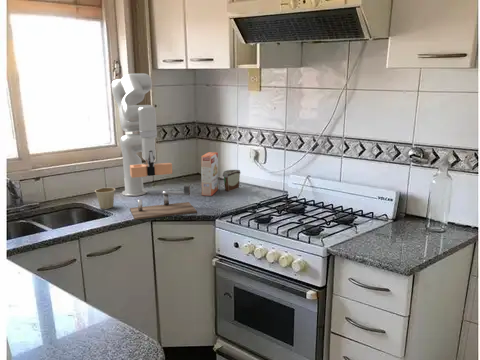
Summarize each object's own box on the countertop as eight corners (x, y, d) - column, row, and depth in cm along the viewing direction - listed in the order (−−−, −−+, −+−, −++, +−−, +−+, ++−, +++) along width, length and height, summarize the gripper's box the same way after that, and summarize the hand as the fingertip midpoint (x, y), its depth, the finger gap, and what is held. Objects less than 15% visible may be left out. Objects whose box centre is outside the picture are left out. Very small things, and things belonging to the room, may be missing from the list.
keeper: (161, 195, 222) (161, 186, 221) (163, 193, 225) (163, 184, 224) (189, 195, 221) (188, 186, 220) (190, 193, 224) (190, 185, 223)
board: (130, 210, 220) (129, 208, 220) (188, 203, 229) (188, 201, 229) (134, 219, 205) (134, 217, 205) (196, 212, 214) (196, 210, 214)
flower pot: (99, 211, 219) (98, 193, 217) (93, 206, 226) (92, 189, 224) (119, 208, 224) (118, 190, 222) (113, 203, 231) (111, 186, 229)
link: (131, 177, 208) (131, 167, 207) (130, 174, 214) (129, 165, 213) (173, 174, 214) (172, 164, 213) (170, 171, 220) (169, 162, 219)
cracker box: (212, 196, 243) (211, 156, 238) (201, 195, 244) (200, 156, 239) (219, 189, 256) (218, 151, 251) (208, 189, 257) (207, 151, 253)
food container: (231, 186, 264) (231, 168, 262) (240, 187, 261) (240, 169, 258) (218, 190, 254) (217, 172, 252) (227, 192, 251) (226, 173, 249)
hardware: (137, 210, 216) (136, 199, 215) (167, 203, 226) (166, 193, 225) (139, 211, 214) (138, 200, 213) (170, 204, 224) (169, 194, 223)
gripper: (137, 132, 216) (139, 171, 220) (142, 137, 201) (145, 179, 205) (153, 131, 218) (155, 170, 222) (160, 136, 203) (162, 177, 207)
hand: (150, 174), depth 214 cm, fingers closed on link, 3 cm apart
